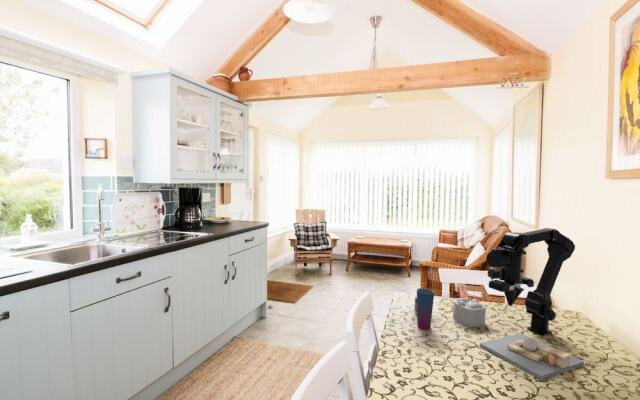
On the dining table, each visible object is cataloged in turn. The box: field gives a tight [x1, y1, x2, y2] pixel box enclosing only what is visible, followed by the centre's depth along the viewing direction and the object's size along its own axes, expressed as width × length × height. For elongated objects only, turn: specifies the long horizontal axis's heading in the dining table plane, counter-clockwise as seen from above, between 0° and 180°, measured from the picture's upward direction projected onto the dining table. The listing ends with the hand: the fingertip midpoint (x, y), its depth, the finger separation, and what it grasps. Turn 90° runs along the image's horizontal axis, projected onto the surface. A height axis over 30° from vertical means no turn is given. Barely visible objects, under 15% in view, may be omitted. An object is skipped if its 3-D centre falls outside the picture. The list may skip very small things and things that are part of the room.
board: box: [479, 332, 585, 381], centre depth 115 cm, size 22×22×5 cm
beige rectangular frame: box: [507, 339, 571, 368], centre depth 112 cm, size 16×10×4 cm, turn 31°
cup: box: [416, 287, 435, 331], centre depth 135 cm, size 7×7×15 cm
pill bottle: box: [413, 294, 417, 315], centre depth 150 cm, size 6×6×10 cm
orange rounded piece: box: [548, 355, 555, 367], centre depth 107 cm, size 2×2×3 cm
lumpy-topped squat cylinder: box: [452, 297, 487, 328], centre depth 144 cm, size 10×13×9 cm
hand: (510, 305), depth 129 cm, fingers closed
